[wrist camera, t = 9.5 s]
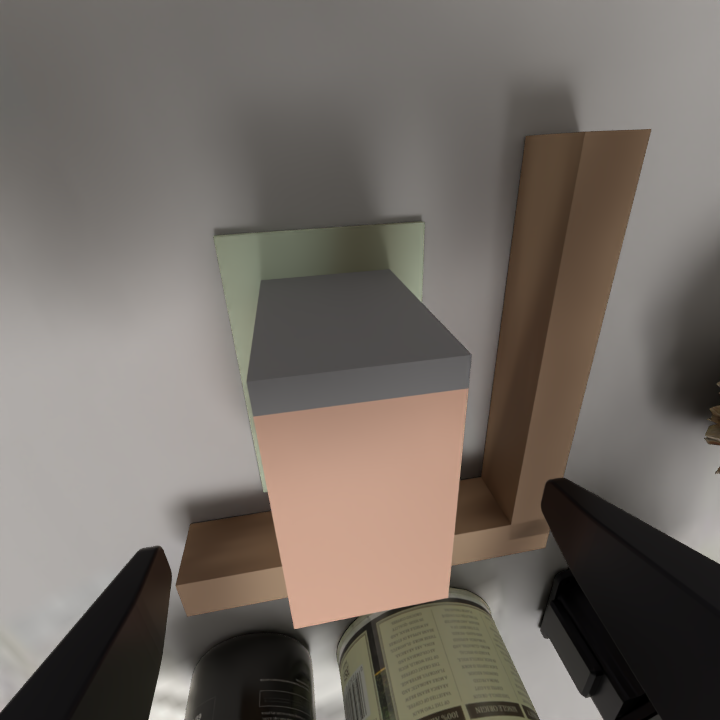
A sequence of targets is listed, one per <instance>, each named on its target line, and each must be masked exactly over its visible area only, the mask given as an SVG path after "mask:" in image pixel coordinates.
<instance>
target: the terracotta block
mask: <svg viewBox="0 0 720 720" xmlns="http://www.w3.org/2000/svg"><path fill="white" fill-rule="evenodd" d="M471 357H472V355H471V354H470V353H469V352H468V350H467V349H466V348H465V347H464V346H463V345H462V344H461V343H460V342H459V341H458V340H457V339H456V338H455V337H454V336H453V335H452V334H451V333H450V332H449V331H448V330H447V329H446V327H445V326H444V325H443V324H442V323H441V322H440V321H439V320H438V319H437V318H436V317H435V316H434V315H433V314H432V313H431V312H430V311H429V310H428V309H427V308H426V307H425V306H424V304H423V303H422V302H421V301H420V300H419V299H418V298H417V297H416V296H415V295H414V294H413V293H412V292H411V291H410V290H409V289H408V288H407V287H406V286H405V285H404V284H403V283H402V281H401V280H400V279H399V278H398V277H397V276H396V275H395V274H394V273H393V272H392V271H391V270H390V269H386V270H374V271H363V272H351V273H339V274H328V275H316V276H305V277H293V278H281V279H270V280H261V282H260V289H259V296H258V303H257V310H256V317H255V325H254V332H253V339H252V346H251V353H250V360H249V367H248V374H247V381H246V382H247V388H248V393H249V398H250V403H251V408H252V413H253V419H254V424H255V429H256V434H257V439H258V444H259V450H260V455H261V460H262V465H263V470H264V475H265V481H266V486H267V491H268V496H269V501H270V506H271V511H272V517H273V522H274V527H275V532H276V537H277V542H278V548H279V553H280V558H281V563H282V568H283V573H284V579H285V584H286V589H287V594H288V599H289V604H290V610H291V615H292V620H293V625H294V629H298V628H303V627H308V626H313V625H318V624H322V623H327V622H332V621H337V620H342V619H347V618H352V617H357V616H362V615H366V614H371V613H376V612H381V611H386V610H391V609H396V608H401V607H405V606H410V605H415V604H420V603H425V602H430V601H435V600H440V599H445V598H448V594H449V584H450V574H451V563H452V553H453V543H454V532H455V522H456V512H457V501H458V491H459V481H460V470H461V460H462V450H463V440H464V429H465V419H466V409H467V398H468V388H469V378H470V367H471Z"/></svg>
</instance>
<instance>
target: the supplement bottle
mask: <svg viewBox="0 0 720 720" xmlns="http://www.w3.org/2000/svg"><path fill="white" fill-rule="evenodd" d="M184 720H316V712H315V695H314V682H313V668H312V660H311V657H310V654H309V652H308V651H307V649H306V648H305V647H304V646H303V644H301V643H300V642H299V641H297V640H296V639H294V638H292V637H289V636H286V635H282V634H276V633H253V634H246V635H242V636H238V637H234V638H231V639H229V640H226V641H224V642H222V643H220V644H218V645H216V646H215V647H213V648H212V649H211V650H209V651H208V652H207V653H206V654H205V655H204V656H203V657H202V658H201V660H200V661H199V662H198V664H197V665H196V667H195V670H194V672H193V676H192V680H191V685H190V690H189V696H188V701H187V707H186V713H185V719H184Z"/></svg>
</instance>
